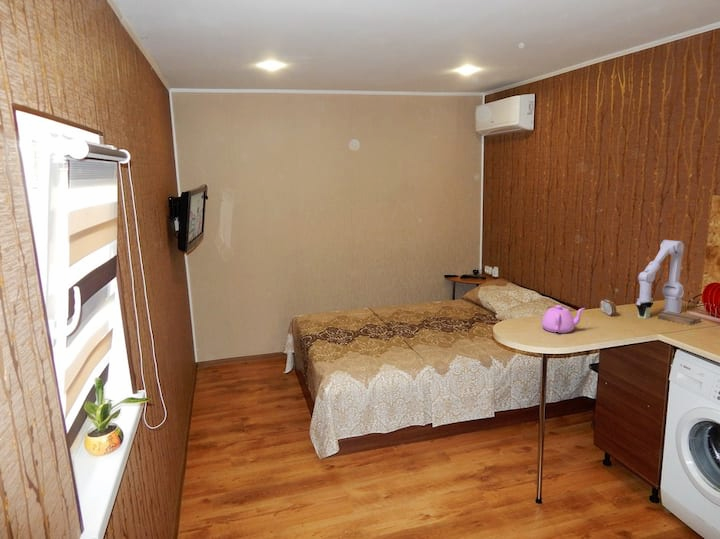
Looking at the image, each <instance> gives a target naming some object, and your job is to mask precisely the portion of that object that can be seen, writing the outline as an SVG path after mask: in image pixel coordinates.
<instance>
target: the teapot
mask: <svg viewBox="0 0 720 539" xmlns="http://www.w3.org/2000/svg"><path fill="white" fill-rule="evenodd" d="M585 309H586V308H585V307H582V308H579V309H578V310H577V312H576V316H575V317H574V316H573V314H572V312H571V311H570V310H569V309H568V308H565V307H563V305H561V304H557V305H555V306H554V307H553V306H552V307H549V308H548V309H546V312H545V313H544V314H543V316H542V318H541V323H540V325H541V326H542V328H544V330H545V331H548V332H550V333H556V332H558V334H561V333H562V334H565V333H571V332H572V331H573V330H574V329H575V327H576V326H577V325H578V324H579V323H580V321H581V315H582V312H583V311H584V310H585Z"/></svg>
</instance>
